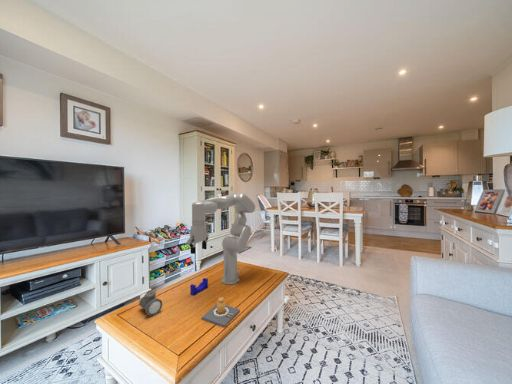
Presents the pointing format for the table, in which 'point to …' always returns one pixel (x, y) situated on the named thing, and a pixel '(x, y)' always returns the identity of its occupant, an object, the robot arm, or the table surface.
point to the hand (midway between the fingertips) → (198, 251)
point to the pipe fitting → (151, 303)
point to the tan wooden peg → (221, 306)
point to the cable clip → (199, 287)
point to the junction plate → (220, 319)
